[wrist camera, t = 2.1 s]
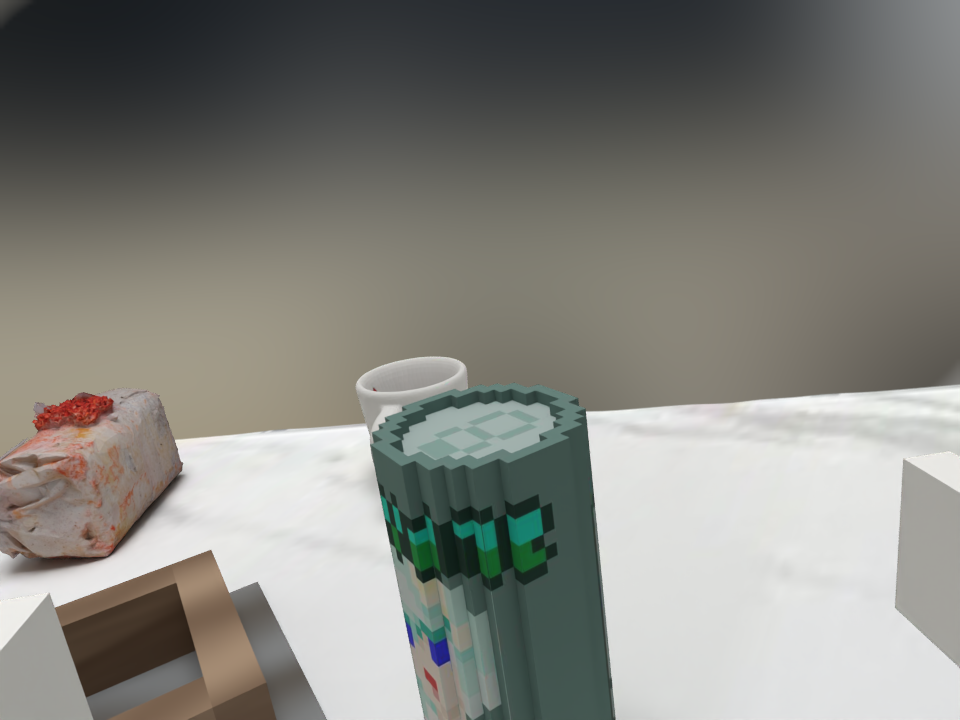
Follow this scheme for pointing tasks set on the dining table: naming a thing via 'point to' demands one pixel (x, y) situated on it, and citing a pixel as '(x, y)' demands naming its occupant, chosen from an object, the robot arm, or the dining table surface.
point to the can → (497, 553)
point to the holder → (184, 650)
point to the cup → (406, 386)
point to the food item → (85, 474)
